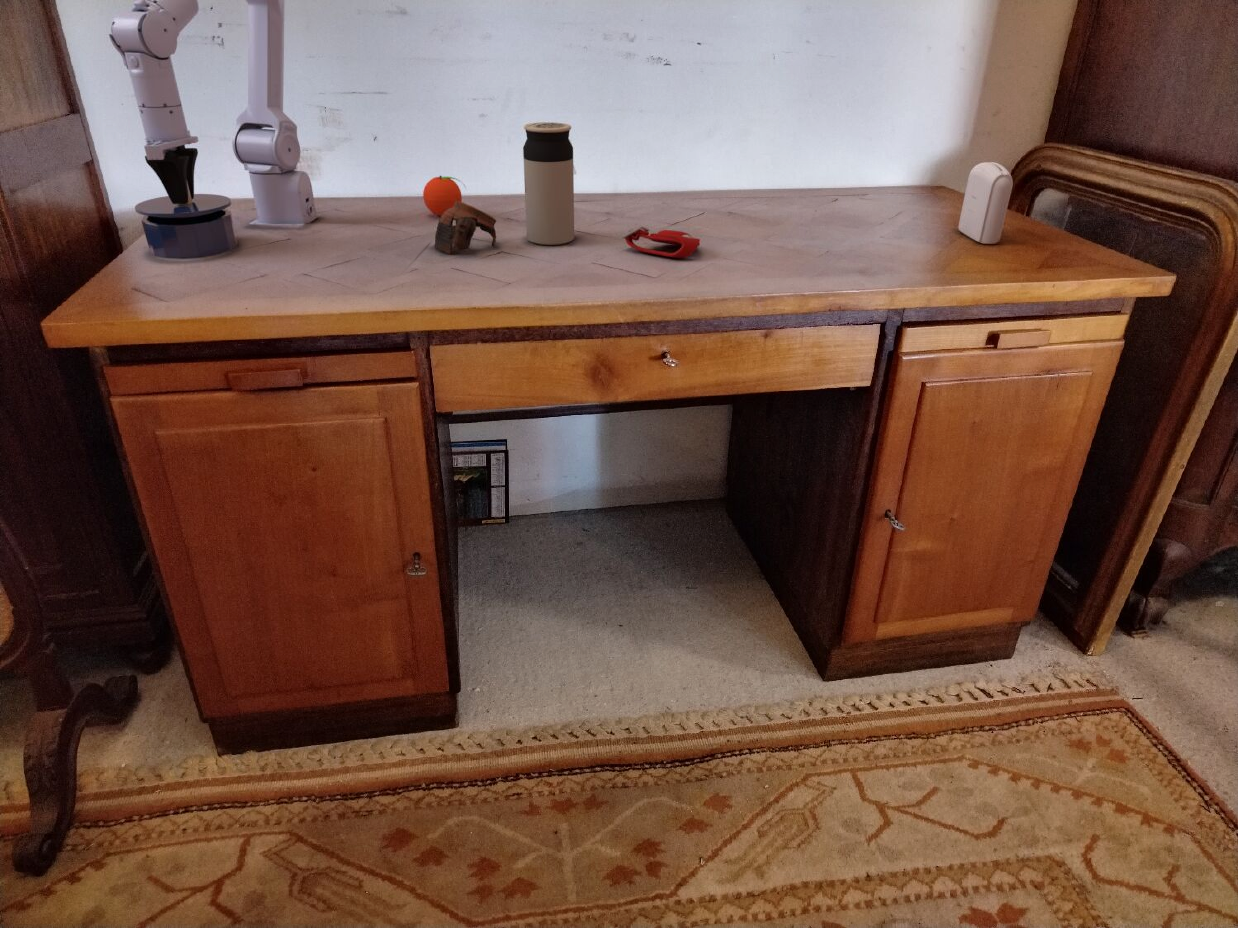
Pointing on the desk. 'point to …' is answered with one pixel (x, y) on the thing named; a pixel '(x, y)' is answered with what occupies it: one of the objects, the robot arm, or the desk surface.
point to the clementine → (441, 194)
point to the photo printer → (986, 202)
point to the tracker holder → (664, 241)
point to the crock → (190, 235)
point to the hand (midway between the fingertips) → (183, 201)
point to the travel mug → (549, 183)
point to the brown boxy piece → (462, 227)
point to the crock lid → (183, 206)
